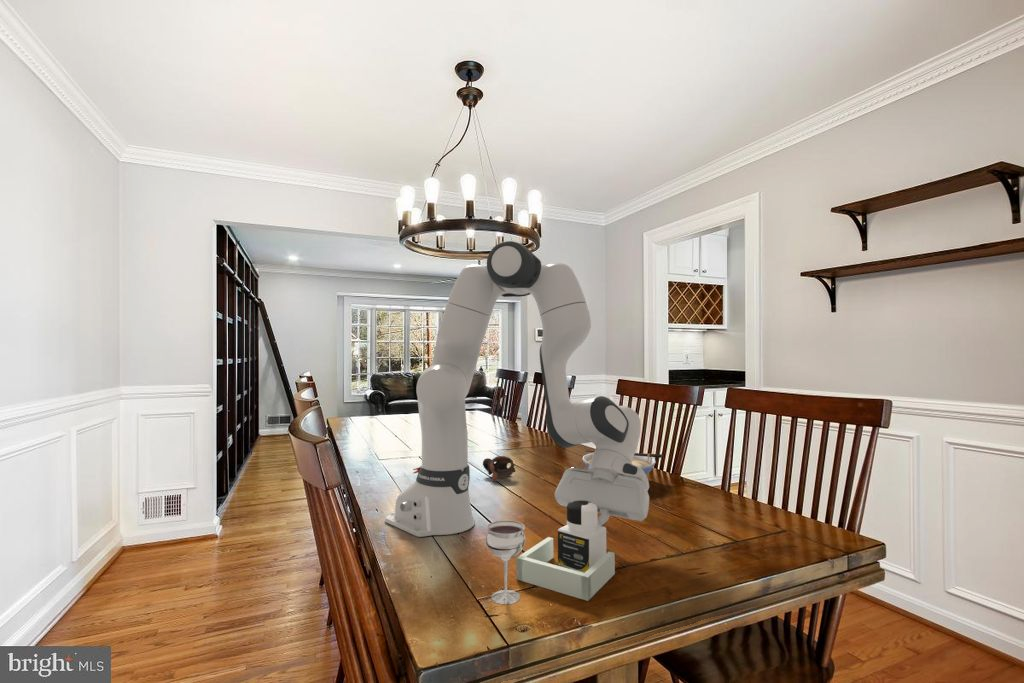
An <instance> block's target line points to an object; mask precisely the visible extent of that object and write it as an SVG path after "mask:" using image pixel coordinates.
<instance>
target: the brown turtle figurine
mask: <svg viewBox="0 0 1024 683" xmlns="http://www.w3.org/2000/svg"><path fill="white" fill-rule="evenodd" d="M508 464H510V466H509V467H508ZM482 466H483V468H484V469H485V470H486V472H488V473H487V474H488V475H492V476H491V481H492V482H494V481H495V482H494V483H496V482H497V481H498V480H500V479H505V478H509V477H510V476H509V475H511V476H512V475H513V473H516V472H517V470H516V469H515V464H514V460H513V459H512V458H511V457H508V456H505V455H498V456H495V457H494V458H492V459H491V458H488V457H487V458H484V459H483V461H482Z"/></svg>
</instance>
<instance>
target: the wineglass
mask: <svg viewBox="0 0 1024 683" xmlns="http://www.w3.org/2000/svg"><path fill="white" fill-rule="evenodd" d="M525 529H526V527H525V525H524V524H523V523H522V522H519V521H515V520H507V519H505V520H495V521H493V522H490V523H488V524H487V525H486V530H487V532H488V533H486V538H485V539H486V545H487V546H486V547H487V548H488V551H490V552H491V553H492V554H493V556H495V557H497V558H500V559H501V560H502V562H503V578H504V580H503V582H504V584H503V585H504V589H501V590H497V591H495V592H494V593H492V595H491V600H492V601H493V602H494V603H496V604H499V605H511V604H515V603H517V602H519V601H520V600H521V594H520V593H518V591H515V590H510V589H508V576H509V575H508V571H509V561H510V560H511V558H515V557H517V556H519V554H520V553H521V551H522V550H524V547H525V544H526V535H525V533H524V531H525Z"/></svg>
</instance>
